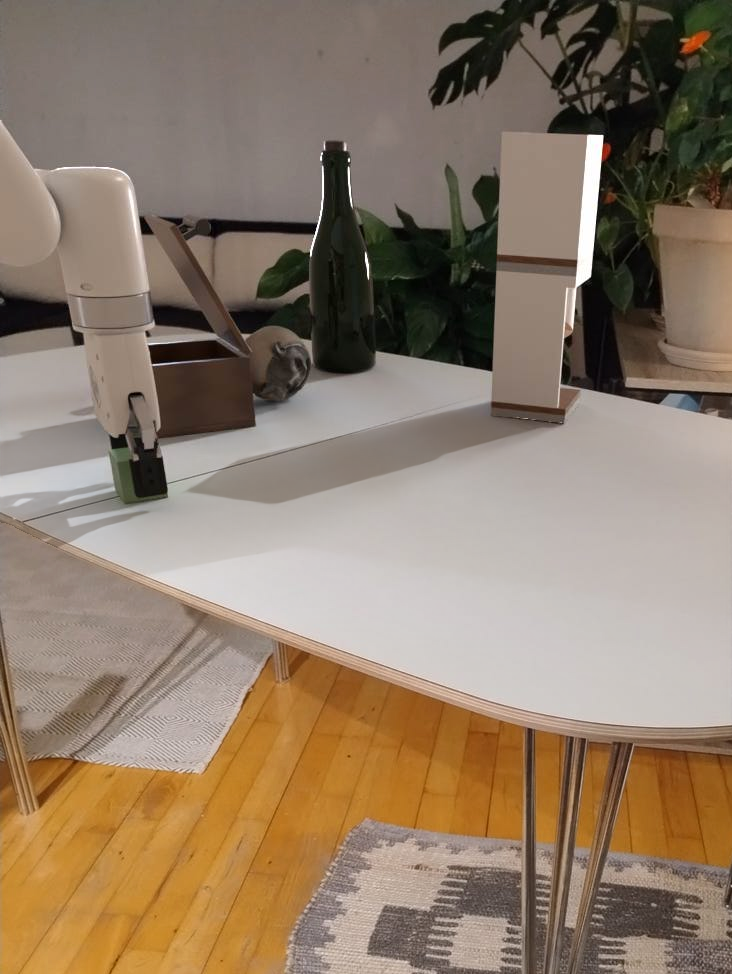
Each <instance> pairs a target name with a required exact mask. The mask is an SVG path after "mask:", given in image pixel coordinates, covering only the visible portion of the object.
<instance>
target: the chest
mask: <svg viewBox="0 0 732 974" xmlns="http://www.w3.org/2000/svg"><path fill="white" fill-rule="evenodd" d="M148 348H149V351H150V359H151V364H152V369H153V375H154V381H155V387H156V393H157V399H158V406H159V414H160V429H159V430H158V431H157V432H156V435H157V439H163V438H172V437H177V436H187V435H196V434H203V433H210V432H212V433H213V432H219V431H227V430H235V429H236V430H237V429H242V428H243V429H244V428H251V427H256V426H257V422H256V412H255V411H256V409H255V400H254V394H253V388H252V377H251V367H250V358H249V357H248V356H246V355H245V354H243V353H242V352H240V351H239V350H238V349H237V348H235V347H233V346H232V345H230V344H229V343H227V342H226V341H224V340H223V339H221V338H220V337H217V338H204V339H203V338H202V339H190V340H178V341H165V342H152V343H151V342H148ZM137 427H138V426H137Z"/></svg>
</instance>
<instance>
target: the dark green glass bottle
mask: <svg viewBox="0 0 732 974" xmlns="http://www.w3.org/2000/svg"><path fill="white" fill-rule="evenodd" d="M347 149H348V144H347V141H344V140H339V139H338V140H337V139H331V140H330V139H329V140H324V141H323V149H322V150H321V154H320V163H321V167H322V169H321V170H322V200H321V210H320V216H319V220H318V224H317V227H316V231H315V235H314V238H313V241H312V245H311V248H310V255H309V263H308V274H309V275H308V283H309V284H308V289H309V312H310V315H309V316H310V336H311V338H310V339H311V357H312V363H313V365H314V367H316V368H318V369H319V370H322V371H326V372H333V373H357V372H363V371H367V370H371V369H372V368H373V367H374V366H375V365H376V363H377V347H376V324H375V323H376V321H375V319H376V318H375V300H374V299H375V297H374V296H375V295H374V281H373V280H374V279H373V269H372V262H371V257H370V252H369V249H368V246H367V243H366V241H365V238H364V235H363V233H362V230H361V227H360V224H359V222H358V217H357V215H356V210H355V204H354V199H353V189H352V175H351V164H352V158H351V153H350V151H349V150H347Z"/></svg>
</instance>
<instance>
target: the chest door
mask: <svg viewBox="0 0 732 974" xmlns="http://www.w3.org/2000/svg"><path fill="white" fill-rule="evenodd" d="M143 218H144V220H145V222H146V223H147V224H148V225H147V226H149V228H150V229H151V231H152V233H153V234H154V236H155V237H156V239H157V241H158V243H159V244H160V246H161V247H162V249H163V250H164V252H165V255H166V256H167V257H168V259H169V260H170V263H172V265H173V267H174V269H175V271H176V272H177V273H178V275H179V276H180V278H181V280H182V281H183V283H184V285H185V286H186V288H187V289H188V291H189V293H190V294H191V296H192V298H193V300H194V301H195V302H196V304H197V306H198V307H199V310H200V311H201V312H202V314H203V316H204V317H205V319H206V320H207V322H208V324H209V325H210V327H211V328H212V330H213V332H214V333H215V335H216V336H217V338H220V339H222V340H223V341H225V342H226V343H228V344H229V345H231V346H232V347H234V348H235V349H237V350H240V351H241V352H243V353H244V354H246V355H248V354H250V353H251V350H250V348H249V346H248V345H247V343H246V341H245V338H244V336H243V335H242V333H241V331H240V330H239V328H238V327H237V325H236V323H235V321H234V320H233V318H232V317H231V314H230V313H229V311H228V310H227V308H226V306H225V304H224V303H223V301H222V300H221V297H220V296H219V294H218V293H217V291H216V289H215V287H214V286H213V284H212V283H211V281H210V279H209V277H208V276H207V274H206V273H205V271H204V269H203V267H202V266H201V264H200V262H199V261H198V259H197V257H196V256H195V254H194V252H193V251H192V249H191V247H190V246H189V244H188V242H187V241H189V240H190V239H192V238H194V237H195V236H197V235H201V236H207V235H209V234H210V232H211V230H212V227H211V223H210V222H209V221H208V220H207V219H206V218H202V217H199V216H195V215H192V214H186V215H185V216H183V218H182V223H181V224H179V225H177V224H176V223H174V222H171V221H169V220H165V219H163V218H161V217H158V216H156V215H153V214H150V213H148V214H147V215H145V216H143ZM182 233H183V234H182Z"/></svg>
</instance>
